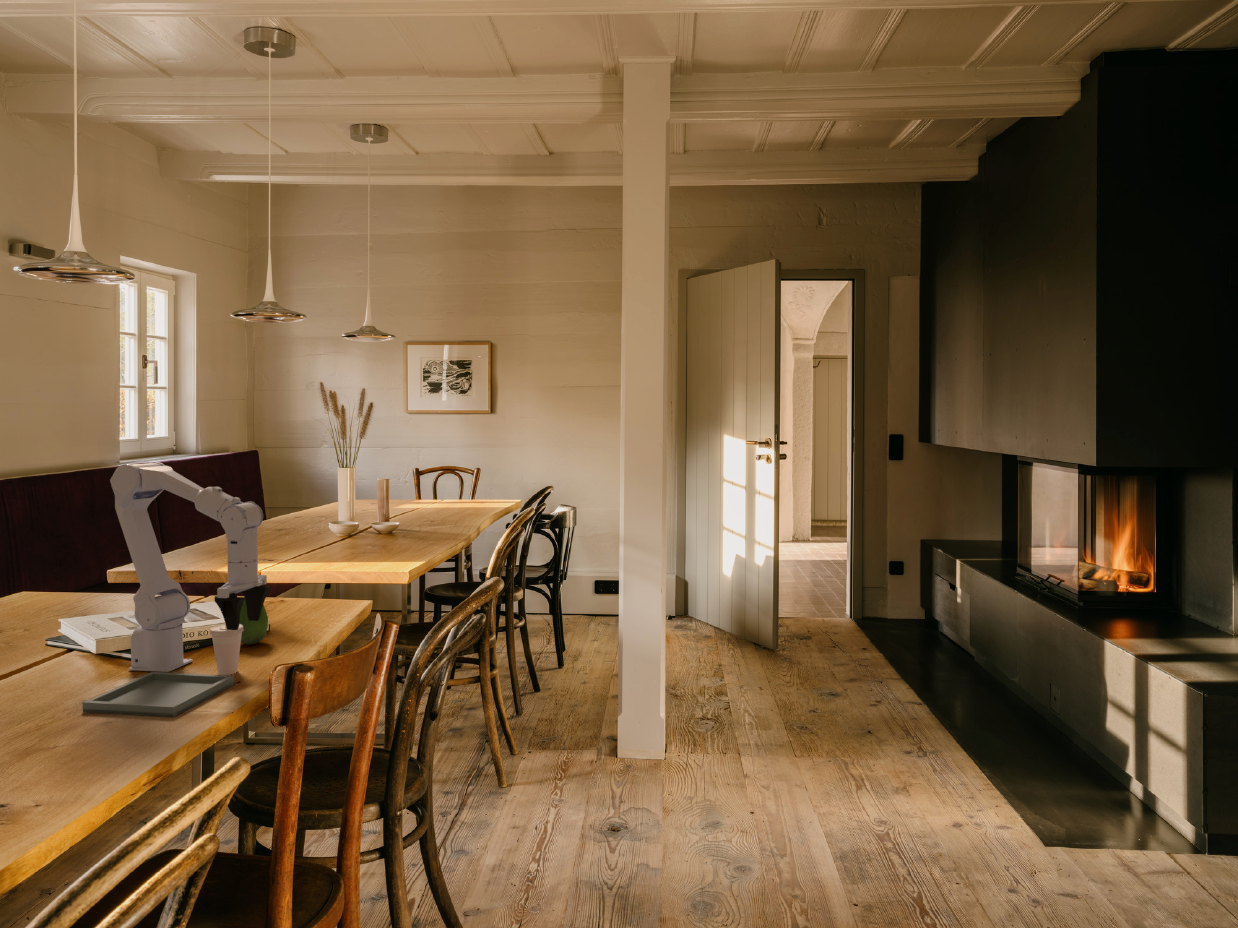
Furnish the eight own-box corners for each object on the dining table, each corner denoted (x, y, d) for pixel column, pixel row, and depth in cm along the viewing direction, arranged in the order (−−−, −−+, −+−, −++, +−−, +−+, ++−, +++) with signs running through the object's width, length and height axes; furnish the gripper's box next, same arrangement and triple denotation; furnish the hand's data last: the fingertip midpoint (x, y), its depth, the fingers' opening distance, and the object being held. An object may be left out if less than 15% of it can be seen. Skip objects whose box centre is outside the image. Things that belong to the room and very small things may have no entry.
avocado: (275, 639, 196) (274, 590, 195) (257, 648, 188) (256, 597, 187) (243, 638, 196) (242, 590, 196) (224, 647, 189) (223, 596, 188)
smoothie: (210, 679, 166) (209, 611, 165) (210, 670, 172) (208, 605, 171) (245, 674, 169) (243, 608, 168) (243, 666, 175) (242, 602, 174)
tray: (82, 711, 147) (82, 702, 147) (152, 680, 165) (152, 671, 165) (173, 716, 145) (173, 707, 145) (234, 684, 163) (234, 675, 163)
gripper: (240, 567, 162) (240, 634, 162) (279, 555, 176) (280, 617, 177) (207, 566, 162) (208, 633, 163) (249, 554, 177) (249, 615, 178)
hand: (243, 624), depth 170 cm, fingers open, 7 cm apart
